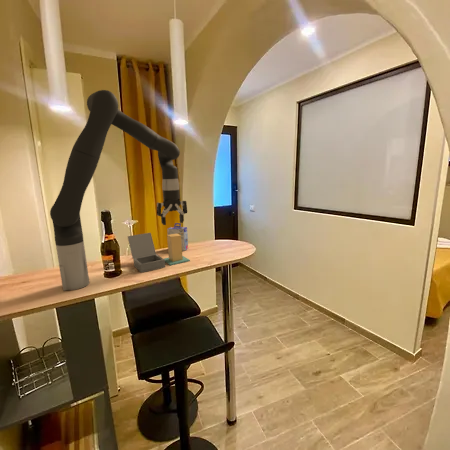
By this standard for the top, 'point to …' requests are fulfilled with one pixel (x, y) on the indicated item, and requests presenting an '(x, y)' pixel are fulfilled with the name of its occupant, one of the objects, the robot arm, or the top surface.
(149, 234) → the lid
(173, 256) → the block
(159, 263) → the case
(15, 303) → the top surface
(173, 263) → the mat
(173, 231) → the ink cartridge box
